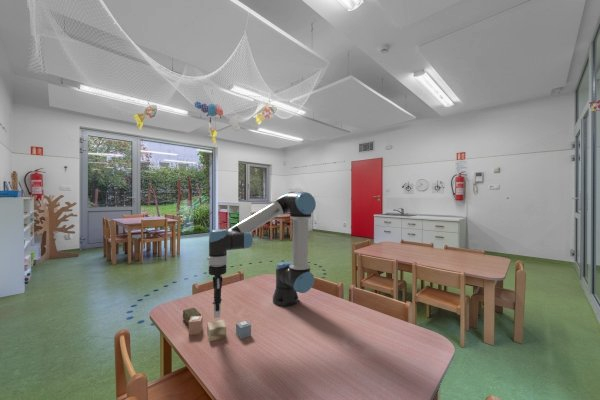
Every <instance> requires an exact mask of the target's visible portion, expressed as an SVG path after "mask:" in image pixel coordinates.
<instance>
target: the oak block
mask: <svg viewBox="0 0 600 400" xmlns="http://www.w3.org/2000/svg"><path fill="white" fill-rule="evenodd" d="M206 325H207V327H206V328H207V331H206V332H207V337H208V341H209V342H212V341H216V340H220V339H225V338H227V326H226V323H225V320H224V319H219V320H213V321H209V322H207V324H206Z"/></svg>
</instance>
